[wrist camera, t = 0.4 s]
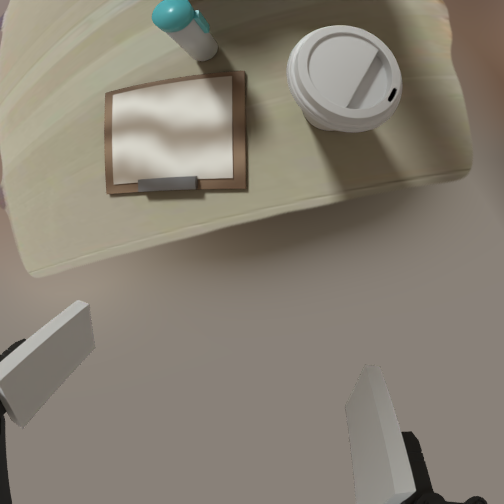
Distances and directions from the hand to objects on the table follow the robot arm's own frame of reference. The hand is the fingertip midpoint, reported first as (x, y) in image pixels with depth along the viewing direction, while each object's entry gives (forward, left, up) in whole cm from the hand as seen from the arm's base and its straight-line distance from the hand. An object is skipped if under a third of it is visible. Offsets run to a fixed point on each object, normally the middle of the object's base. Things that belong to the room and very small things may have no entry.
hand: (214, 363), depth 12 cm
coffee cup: (-16, +8, -26) cm, 32 cm away
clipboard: (-13, -12, -26) cm, 32 cm away
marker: (-24, -7, -26) cm, 36 cm away
